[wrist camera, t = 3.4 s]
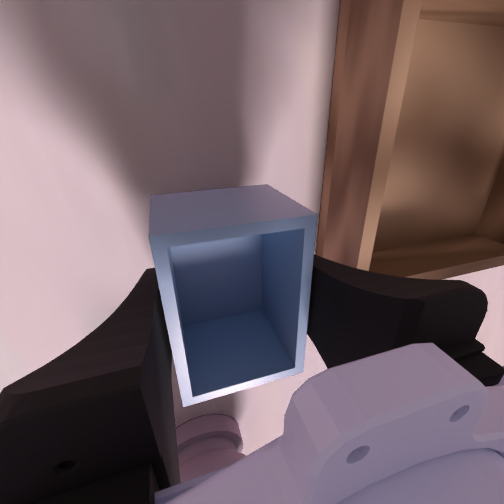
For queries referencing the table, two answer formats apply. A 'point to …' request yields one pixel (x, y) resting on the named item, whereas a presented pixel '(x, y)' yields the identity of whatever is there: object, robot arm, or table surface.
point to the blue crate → (233, 285)
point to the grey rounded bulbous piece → (207, 445)
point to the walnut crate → (416, 139)
